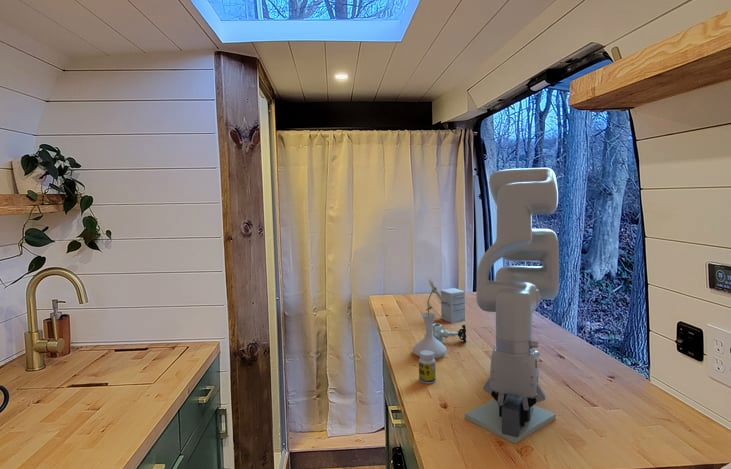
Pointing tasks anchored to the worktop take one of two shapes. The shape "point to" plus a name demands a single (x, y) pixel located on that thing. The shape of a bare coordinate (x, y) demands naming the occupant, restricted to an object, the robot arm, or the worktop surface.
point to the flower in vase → (430, 332)
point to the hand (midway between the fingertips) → (513, 421)
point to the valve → (448, 333)
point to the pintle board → (491, 421)
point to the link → (512, 415)
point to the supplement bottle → (427, 367)
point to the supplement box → (453, 305)
